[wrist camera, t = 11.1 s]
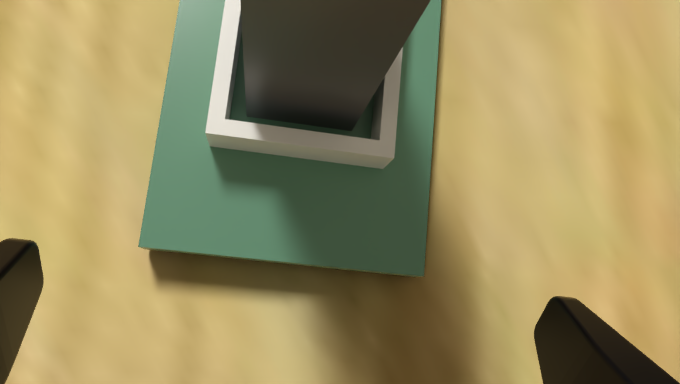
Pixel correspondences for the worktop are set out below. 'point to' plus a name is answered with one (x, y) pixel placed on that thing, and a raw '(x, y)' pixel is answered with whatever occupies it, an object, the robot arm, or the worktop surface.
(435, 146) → the worktop surface
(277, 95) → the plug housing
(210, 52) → the board
